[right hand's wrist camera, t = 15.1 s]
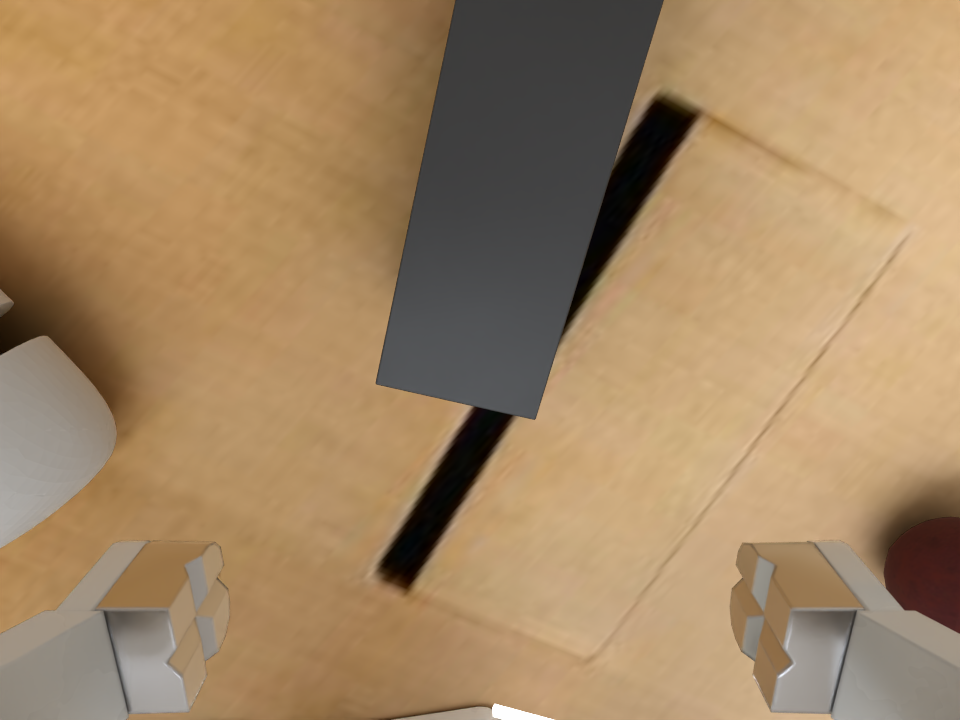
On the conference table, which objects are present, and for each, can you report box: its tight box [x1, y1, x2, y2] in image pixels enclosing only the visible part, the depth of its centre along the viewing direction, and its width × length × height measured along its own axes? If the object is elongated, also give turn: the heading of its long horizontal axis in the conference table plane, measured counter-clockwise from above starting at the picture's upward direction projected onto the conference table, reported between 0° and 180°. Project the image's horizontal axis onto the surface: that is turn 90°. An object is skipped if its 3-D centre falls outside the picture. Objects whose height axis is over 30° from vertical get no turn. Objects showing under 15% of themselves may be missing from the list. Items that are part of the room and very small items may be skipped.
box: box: [376, 0, 664, 420], centre depth 27 cm, size 24×6×10 cm, turn 166°
